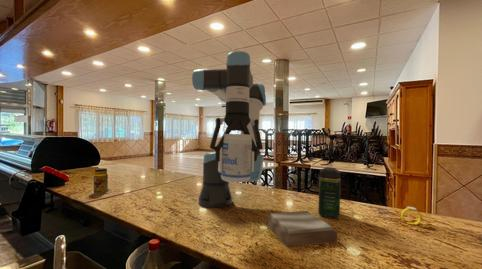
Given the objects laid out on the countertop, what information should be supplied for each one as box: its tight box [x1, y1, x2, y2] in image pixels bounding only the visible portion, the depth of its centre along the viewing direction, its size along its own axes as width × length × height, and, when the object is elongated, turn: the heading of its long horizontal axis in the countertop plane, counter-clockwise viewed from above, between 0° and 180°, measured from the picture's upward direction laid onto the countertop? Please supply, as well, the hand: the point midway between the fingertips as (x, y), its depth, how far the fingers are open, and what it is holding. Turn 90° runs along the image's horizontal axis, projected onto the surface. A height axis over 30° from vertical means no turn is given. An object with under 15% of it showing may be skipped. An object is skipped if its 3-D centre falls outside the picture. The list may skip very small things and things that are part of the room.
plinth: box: [265, 210, 338, 248], centre depth 70 cm, size 16×16×4 cm
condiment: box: [91, 167, 110, 195], centre depth 112 cm, size 7×8×12 cm
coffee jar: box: [317, 166, 342, 219], centre depth 87 cm, size 10×8×19 cm
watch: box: [400, 206, 423, 226], centre depth 79 cm, size 6×3×6 cm, turn 75°
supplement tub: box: [221, 133, 252, 183], centre depth 70 cm, size 10×10×15 cm
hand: (236, 171), depth 70 cm, fingers closed on supplement tub, 10 cm apart
